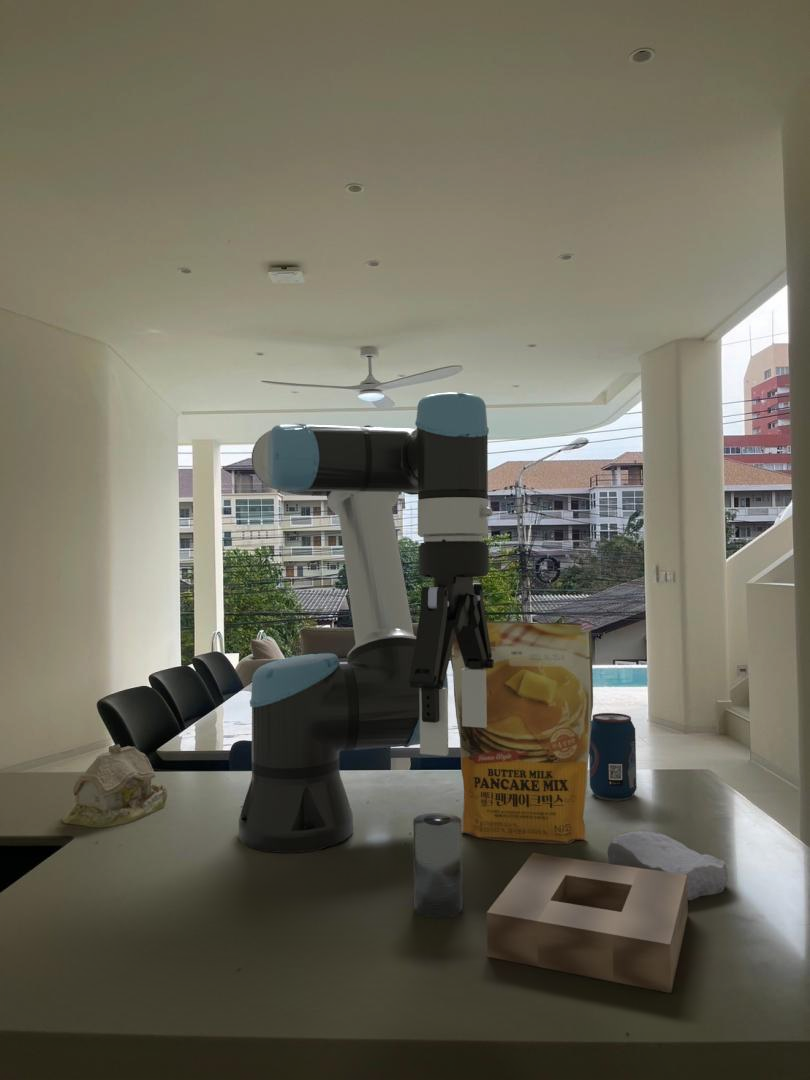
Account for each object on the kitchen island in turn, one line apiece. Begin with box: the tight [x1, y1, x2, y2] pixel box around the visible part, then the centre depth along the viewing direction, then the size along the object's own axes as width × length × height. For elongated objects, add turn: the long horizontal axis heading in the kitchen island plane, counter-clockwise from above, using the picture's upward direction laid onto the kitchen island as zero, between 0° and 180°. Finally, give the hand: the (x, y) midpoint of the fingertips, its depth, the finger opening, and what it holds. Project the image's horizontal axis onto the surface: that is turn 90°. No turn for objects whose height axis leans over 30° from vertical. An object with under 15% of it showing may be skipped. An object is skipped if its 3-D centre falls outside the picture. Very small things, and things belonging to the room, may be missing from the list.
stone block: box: [607, 830, 729, 901], centre depth 91 cm, size 12×5×10 cm
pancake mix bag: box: [450, 620, 594, 845], centre depth 106 cm, size 7×19×28 cm, turn 78°
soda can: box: [588, 712, 638, 802], centre depth 123 cm, size 7×7×12 cm
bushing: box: [412, 812, 463, 919], centre depth 84 cm, size 5×5×9 cm
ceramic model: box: [61, 743, 169, 828], centre depth 117 cm, size 14×11×10 cm
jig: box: [486, 852, 689, 994], centre depth 77 cm, size 16×16×4 cm
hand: (455, 739), depth 85 cm, fingers open, 13 cm apart
